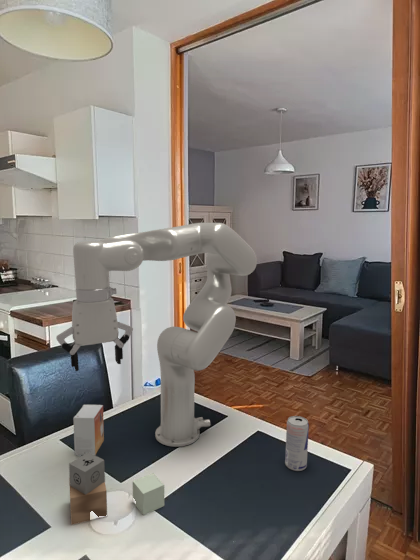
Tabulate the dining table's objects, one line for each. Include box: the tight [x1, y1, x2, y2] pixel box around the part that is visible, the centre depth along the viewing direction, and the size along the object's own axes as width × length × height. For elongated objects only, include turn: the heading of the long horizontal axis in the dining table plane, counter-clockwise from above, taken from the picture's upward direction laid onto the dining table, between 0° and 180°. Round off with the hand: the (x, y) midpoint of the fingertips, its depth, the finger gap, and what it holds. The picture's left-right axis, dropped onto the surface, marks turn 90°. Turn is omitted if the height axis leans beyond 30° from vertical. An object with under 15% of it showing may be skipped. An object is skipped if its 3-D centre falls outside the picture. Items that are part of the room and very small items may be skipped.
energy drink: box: [284, 415, 310, 472], centre depth 100 cm, size 5×5×12 cm
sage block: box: [132, 472, 165, 516], centre depth 86 cm, size 5×5×5 cm
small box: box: [72, 404, 105, 456], centre depth 107 cm, size 8×6×10 cm
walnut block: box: [68, 477, 108, 526], centre depth 84 cm, size 7×7×6 cm
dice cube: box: [68, 452, 106, 495], centre depth 84 cm, size 5×5×5 cm
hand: (97, 365), depth 95 cm, fingers open, 9 cm apart
